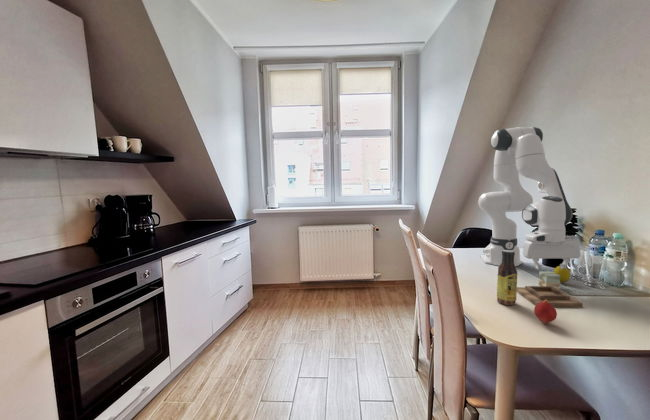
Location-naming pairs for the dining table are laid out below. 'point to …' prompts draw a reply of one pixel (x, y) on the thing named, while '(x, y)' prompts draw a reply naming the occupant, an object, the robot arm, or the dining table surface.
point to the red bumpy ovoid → (545, 312)
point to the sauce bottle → (507, 279)
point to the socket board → (548, 296)
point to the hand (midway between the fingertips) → (550, 268)
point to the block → (549, 279)
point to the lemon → (562, 274)
